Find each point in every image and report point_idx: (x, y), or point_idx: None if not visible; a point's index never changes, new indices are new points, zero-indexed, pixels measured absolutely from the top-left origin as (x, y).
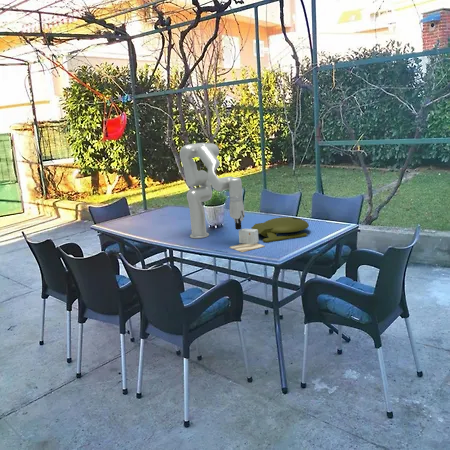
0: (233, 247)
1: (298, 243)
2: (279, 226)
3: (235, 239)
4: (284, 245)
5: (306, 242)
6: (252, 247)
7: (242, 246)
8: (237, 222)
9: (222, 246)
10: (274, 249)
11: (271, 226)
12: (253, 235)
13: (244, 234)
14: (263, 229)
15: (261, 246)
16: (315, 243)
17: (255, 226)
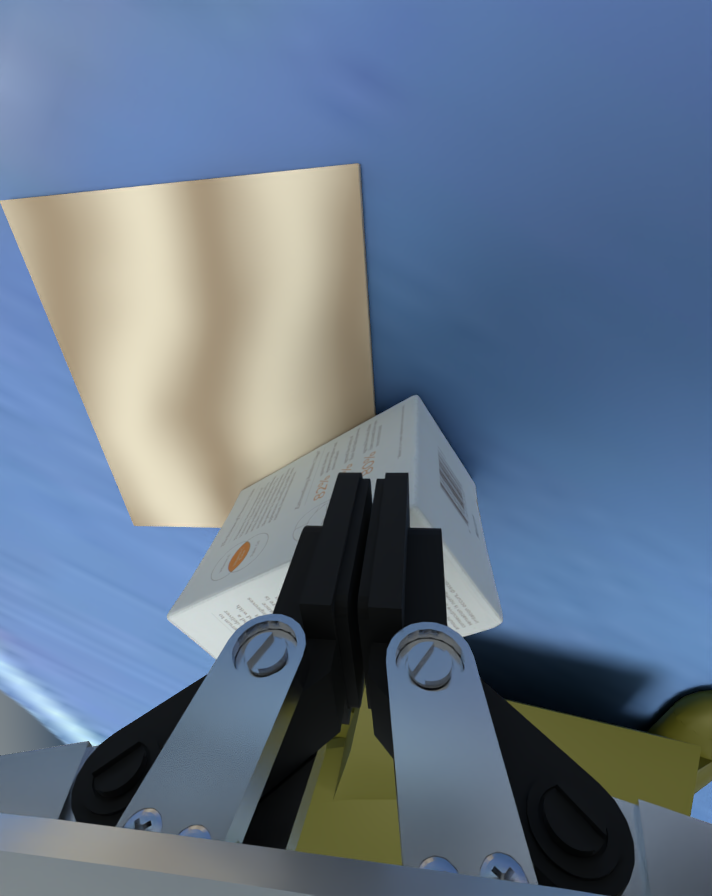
0: (274, 208)
1: (112, 693)
2: (302, 836)
3: (673, 468)
4: (105, 626)
5: (112, 724)
6: (138, 411)
7: (246, 344)
8: (244, 645)
9: (523, 89)
10: (18, 525)
11: (376, 819)
12: (204, 565)
13: (317, 511)
14: (376, 746)
15: (130, 494)
16: (67, 732)
17: (627, 783)
